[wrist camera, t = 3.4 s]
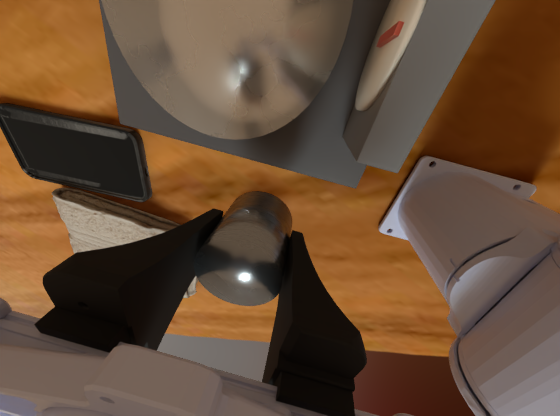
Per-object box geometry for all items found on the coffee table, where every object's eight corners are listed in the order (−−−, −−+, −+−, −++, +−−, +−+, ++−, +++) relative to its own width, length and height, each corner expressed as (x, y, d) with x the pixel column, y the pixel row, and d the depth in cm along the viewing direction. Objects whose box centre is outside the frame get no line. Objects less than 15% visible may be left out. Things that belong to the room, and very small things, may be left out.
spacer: (299, 201, 13) (292, 256, 9) (283, 251, 15) (271, 314, 11) (233, 183, 13) (193, 229, 9) (227, 235, 15) (193, 292, 11)
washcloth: (202, 288, 31) (191, 306, 29) (88, 251, 31) (66, 267, 28) (209, 228, 25) (197, 245, 22) (67, 182, 25) (38, 193, 22)
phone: (-13, 101, 20) (134, 132, 19) (2, 101, 21) (143, 130, 20) (26, 177, 24) (149, 205, 23) (37, 173, 25) (155, 200, 24)
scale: (491, -138, 10) (952, -734, 3) (351, 177, 19) (373, 232, 12) (100, -237, 10) (-423, -1033, 3) (142, 119, 19) (34, 138, 12)
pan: (411, -181, 8) (420, -206, 7) (307, 158, 15) (306, 162, 15) (71, -267, 8) (49, -300, 8) (127, 109, 15) (118, 110, 15)
